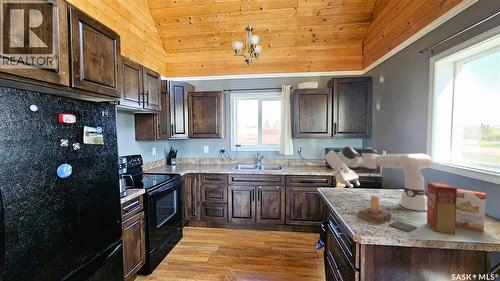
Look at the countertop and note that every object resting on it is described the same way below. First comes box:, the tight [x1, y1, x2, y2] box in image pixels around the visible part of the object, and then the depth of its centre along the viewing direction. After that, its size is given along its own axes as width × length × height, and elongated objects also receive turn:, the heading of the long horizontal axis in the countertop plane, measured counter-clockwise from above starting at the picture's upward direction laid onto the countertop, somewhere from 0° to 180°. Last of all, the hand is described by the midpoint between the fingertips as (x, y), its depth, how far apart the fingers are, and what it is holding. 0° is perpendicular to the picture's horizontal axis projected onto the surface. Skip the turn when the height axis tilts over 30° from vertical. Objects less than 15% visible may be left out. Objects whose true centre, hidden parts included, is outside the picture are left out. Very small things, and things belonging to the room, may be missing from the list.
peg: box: [370, 195, 380, 215], centre depth 138 cm, size 4×4×14 cm
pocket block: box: [358, 207, 392, 225], centre depth 138 cm, size 13×13×4 cm
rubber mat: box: [388, 220, 418, 233], centre depth 126 cm, size 10×10×1 cm
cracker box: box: [456, 188, 487, 233], centre depth 127 cm, size 14×6×21 cm, turn 45°
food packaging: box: [426, 181, 458, 236], centre depth 124 cm, size 13×9×25 cm
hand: (355, 186), depth 147 cm, fingers open, 8 cm apart
